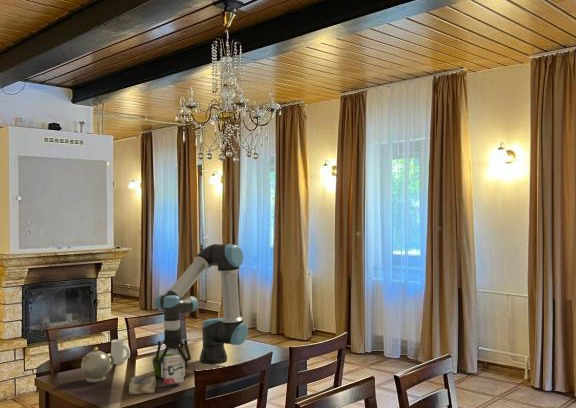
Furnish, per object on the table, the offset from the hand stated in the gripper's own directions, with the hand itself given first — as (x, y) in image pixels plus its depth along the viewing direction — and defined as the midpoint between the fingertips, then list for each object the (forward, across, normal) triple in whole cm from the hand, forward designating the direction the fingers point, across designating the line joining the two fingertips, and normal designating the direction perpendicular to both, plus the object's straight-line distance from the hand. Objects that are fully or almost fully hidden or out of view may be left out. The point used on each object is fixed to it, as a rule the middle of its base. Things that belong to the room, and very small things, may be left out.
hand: (173, 376), depth 271 cm
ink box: (+3, 0, 0) cm, 3 cm away
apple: (+5, +4, -17) cm, 18 cm away
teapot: (+4, +36, -17) cm, 40 cm away
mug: (+5, +29, -49) cm, 57 cm away
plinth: (+4, +14, +3) cm, 15 cm away
